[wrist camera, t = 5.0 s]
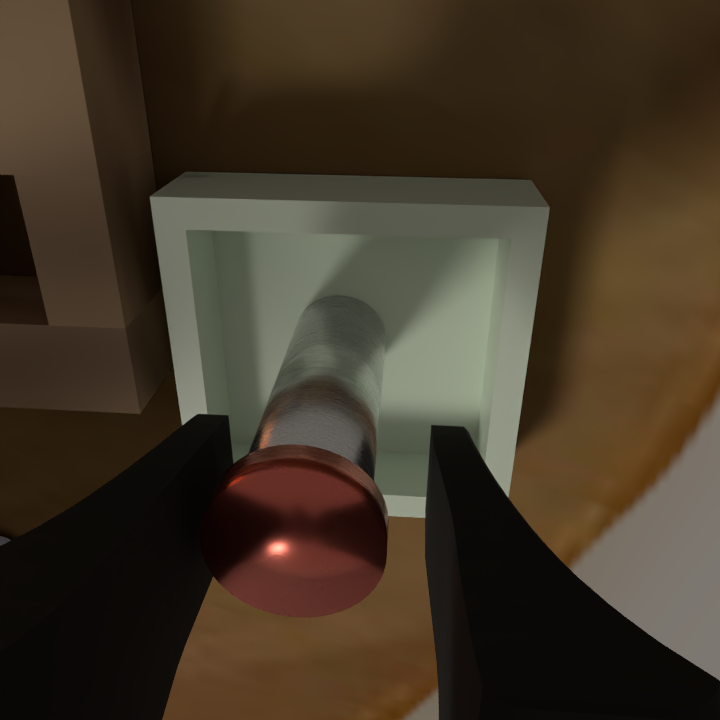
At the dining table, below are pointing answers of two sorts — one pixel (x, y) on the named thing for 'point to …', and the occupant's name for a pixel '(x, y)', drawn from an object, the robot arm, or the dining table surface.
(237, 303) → the tray
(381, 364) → the lock pin
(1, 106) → the block
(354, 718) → the dining table surface
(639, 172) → the dining table surface
